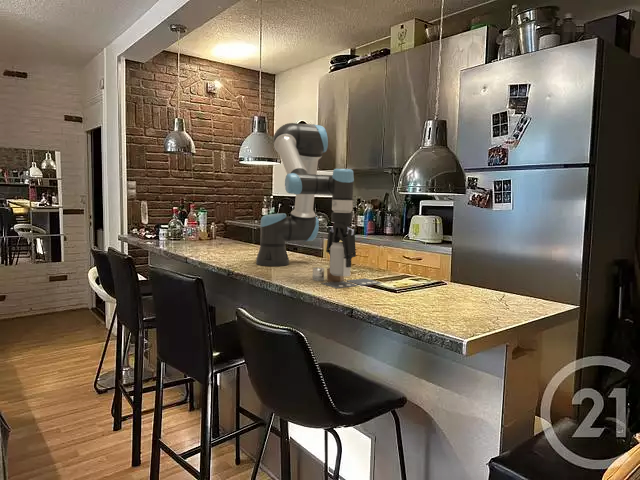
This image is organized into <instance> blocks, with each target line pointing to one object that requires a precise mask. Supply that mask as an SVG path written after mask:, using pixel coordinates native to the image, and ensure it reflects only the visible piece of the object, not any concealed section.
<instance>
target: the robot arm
mask: <svg viewBox="0 0 640 480" xmlns="http://www.w3.org/2000/svg"><path fill="white" fill-rule="evenodd" d="M272 145H273V148H274V150H275V152H277V153H278V154H279V157H280V159H281V162H282V164H283V168H284V169H285V172H286V176H285V179H284V187H285V192H286V193H288V194H292V195H295V200H294V209H293V210H291V212H290V216H287V214H286V213H283V212H281V213H271V214H266V215H263V216H262V217H261V219H260V225H259V228H260V241H259V242H260V243H259V245H260V246H259V249H258V253H257V256H256V258H255V259H256V260H255V264H256V265H258V266H263V267H264V266H266V267H281V266H282V267H284V266H288V265H289V264H290V260H289V256H288V252H287V248H286V243H287V242H303V243H304V242H313V241H314V240H315V239H316V238H317V236H318V234H319V228H320V225H319V223H320V221H319V217H317V216H316V215H317V214H316V213H315V211H314V203H315V195H318V196H319V195H320V196H332V197H331V210H332V212H331V216H330V218H331V220H330V221H331V222H332V224H333V225H332V226H327V241H326V253H328V255H329V256H330V247H331V245H332V244H333V242H335V243H337V242H342V243H343V247H344V253H345V257H344V262H343V276H344V277H350V276H351V267H352V259H353V258H355V257H357V252H356V251H357V249H356V233H357V232H356V229H354V228H353V229H352V228H351V225H350V224H352V223H353V209H354V206H353V204H354V182H355V178H354V177H355V176H354V170H353V169H351V168H334V169H333V171H332V174H317V173H318V164H319V160H320V159H321V158H322V157H323V153H326V152H327V150H328V147H329V138H328V133H327V130H326V128H325V127H324V126H322V125H320V124H315V123H313V124H311V123H310V124H309V123H295V122H289V123H285V124H282V125H281V126H280V127H278V129H277V130H276V131H275V133H274V134H273V137H272Z"/></svg>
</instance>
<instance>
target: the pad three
mask: <svg viewBox="0 0 640 480" xmlns="http://www.w3.org/2000/svg"><path fill="white" fill-rule="evenodd" d="M344 281H345V282H348V283H352V284H355V285H358V286H361V287H362V286H370V285H380V284H381V285H382V282H379V281H377V280H374V279H373V280H372V279H369V278H356V279H347V280H344Z"/></svg>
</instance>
